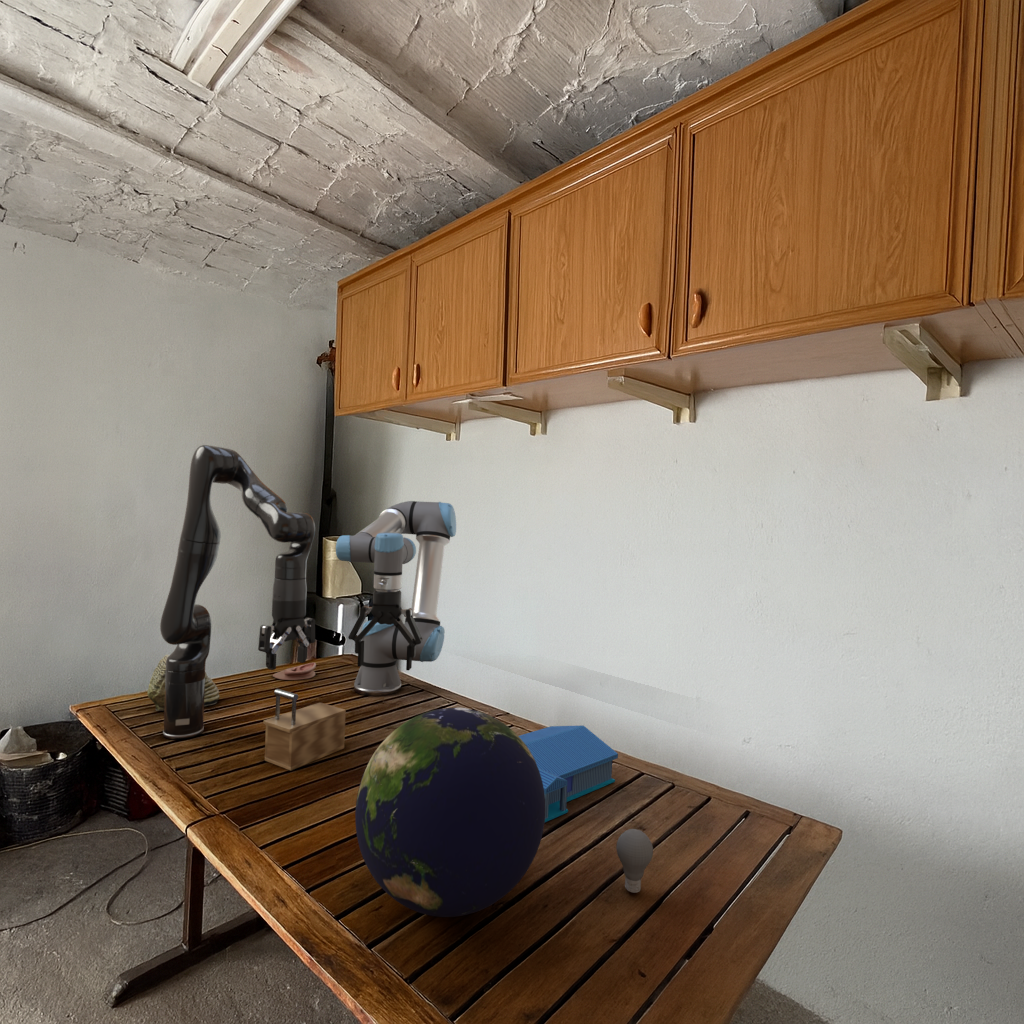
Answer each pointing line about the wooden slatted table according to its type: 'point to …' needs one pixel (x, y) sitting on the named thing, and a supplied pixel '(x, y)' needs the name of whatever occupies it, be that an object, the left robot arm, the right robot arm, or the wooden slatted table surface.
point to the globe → (450, 812)
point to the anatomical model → (297, 672)
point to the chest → (304, 743)
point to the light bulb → (634, 857)
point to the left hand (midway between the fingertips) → (286, 665)
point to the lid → (300, 714)
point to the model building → (569, 764)
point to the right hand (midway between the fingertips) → (384, 667)
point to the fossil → (158, 687)
